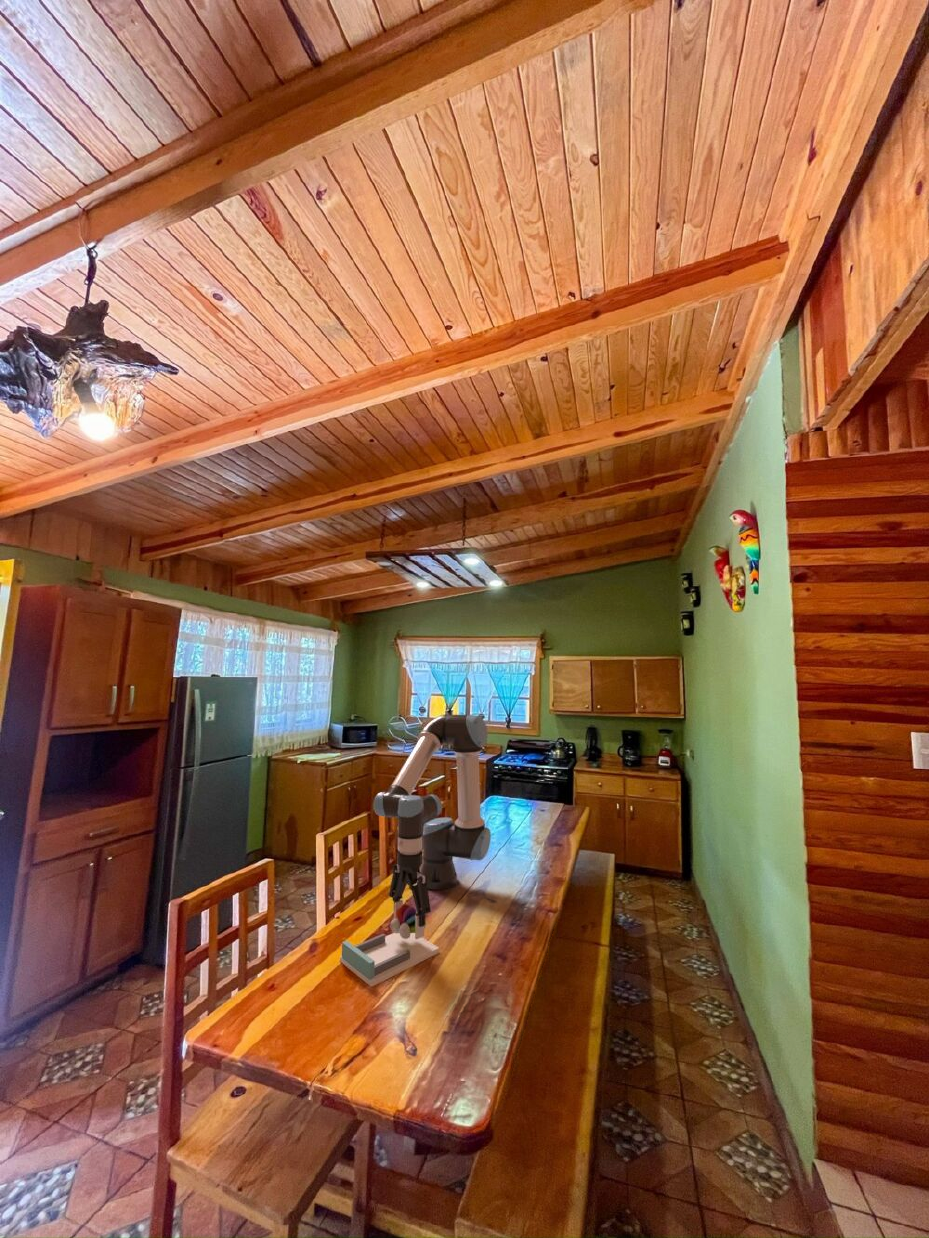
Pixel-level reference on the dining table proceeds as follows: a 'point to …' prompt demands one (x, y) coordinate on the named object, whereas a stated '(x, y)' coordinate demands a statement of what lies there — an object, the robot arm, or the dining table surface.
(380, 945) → the board
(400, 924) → the multicolored rounded lobe cluster
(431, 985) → the dining table surface
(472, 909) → the dining table surface
